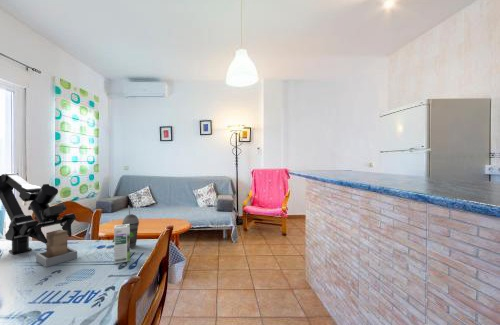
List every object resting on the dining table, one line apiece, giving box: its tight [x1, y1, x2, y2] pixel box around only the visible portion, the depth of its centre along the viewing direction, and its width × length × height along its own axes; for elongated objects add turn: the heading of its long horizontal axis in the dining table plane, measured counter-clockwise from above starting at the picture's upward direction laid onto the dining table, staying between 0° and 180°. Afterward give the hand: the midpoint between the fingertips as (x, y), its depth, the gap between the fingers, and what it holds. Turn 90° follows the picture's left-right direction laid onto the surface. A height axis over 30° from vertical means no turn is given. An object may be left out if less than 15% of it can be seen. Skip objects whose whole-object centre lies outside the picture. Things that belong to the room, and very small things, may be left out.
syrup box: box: [113, 224, 131, 265], centre depth 101 cm, size 6×6×14 cm
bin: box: [35, 246, 78, 268], centre depth 102 cm, size 11×11×3 cm
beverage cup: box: [121, 205, 140, 249], centre depth 117 cm, size 7×7×20 cm
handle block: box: [45, 229, 68, 258], centre depth 101 cm, size 5×5×11 cm
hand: (59, 239), depth 101 cm, fingers open, 9 cm apart
